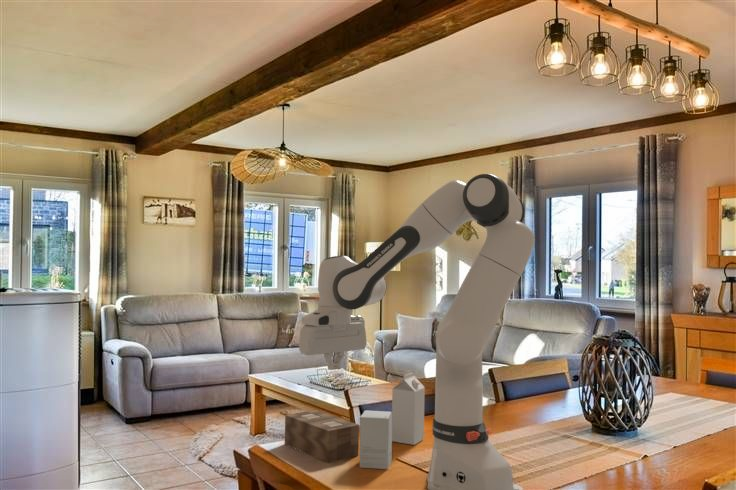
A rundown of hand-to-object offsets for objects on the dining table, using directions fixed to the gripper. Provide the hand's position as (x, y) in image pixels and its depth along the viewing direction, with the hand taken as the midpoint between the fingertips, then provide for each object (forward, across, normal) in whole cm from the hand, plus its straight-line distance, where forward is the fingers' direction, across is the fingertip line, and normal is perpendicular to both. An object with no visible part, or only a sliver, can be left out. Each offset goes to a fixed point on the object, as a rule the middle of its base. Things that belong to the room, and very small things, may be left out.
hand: (333, 369), depth 162 cm
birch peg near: (+22, 0, 0) cm, 22 cm away
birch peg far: (+22, 0, -10) cm, 24 cm away
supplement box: (+23, -4, +13) cm, 26 cm away
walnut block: (+22, 0, -5) cm, 23 cm away
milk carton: (+23, -25, +3) cm, 34 cm away
